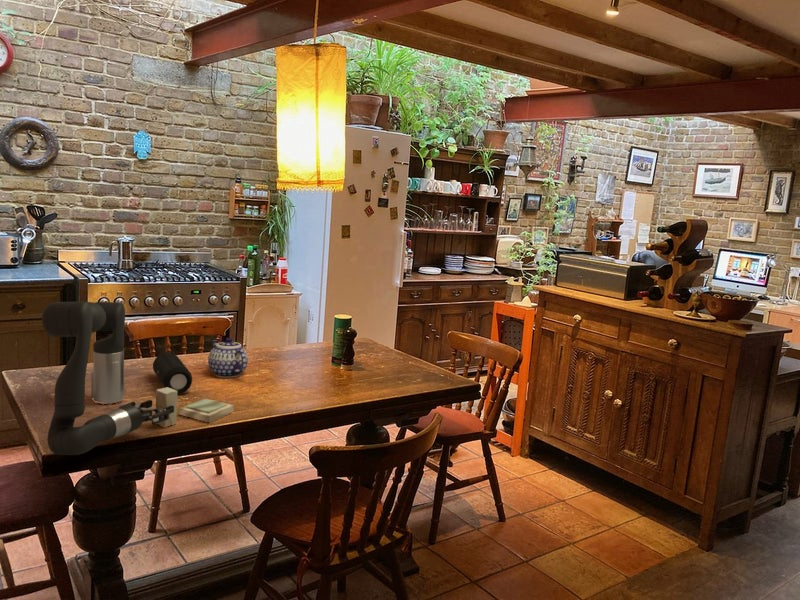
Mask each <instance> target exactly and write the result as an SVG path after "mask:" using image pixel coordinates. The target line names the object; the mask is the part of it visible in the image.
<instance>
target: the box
mask: <svg viewBox="0 0 800 600" xmlns="http://www.w3.org/2000/svg"><path fill="white" fill-rule="evenodd" d="M177 392H178V391H176V390H174V389H171V388H168V387H166V388H164V387H162V388H157V389H156V391H155V393H156V394H155V408H157V409H163V408H166V407H168V406H171V405H173V406H174V412H173V413H171V414H169V419H168V420H165V421H162V422H160V423H157V424H159V425H162V426H164V427H166V426H170V425H173V424H176V425H177V419H178V418H177V416H178V415H177V414H178V413H177V412H178V394H177ZM158 413H160V412H158ZM157 424H156V425H157ZM159 425H158V426H159ZM173 426H174V425H173ZM164 427H163V428H164ZM170 427H171V426H170Z"/></svg>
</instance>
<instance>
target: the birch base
mask: <svg viewBox="0 0 800 600" xmlns="http://www.w3.org/2000/svg"><path fill="white" fill-rule="evenodd" d="M234 406H235V405H234V404H230V403H226V402H221V401H217V400H213V399H208V398H205V397H204V398H202V399H199V400H197V401H193V402H192V403H189V404H187V405H185V406H182V407H180V408H179V410H178V412H179V413H178V415H179V414H181V415H184V416H188V417H191V418H195V419H198V420H197V421H199V420H203V421H205V422H204V423H207V422H209V423H208V424H211V423H213V422H215V421H218V420H219V418H220V419H222V418H224V417H226V416H229V415H231V414H233V413H234ZM232 412H233V413H232ZM230 413H231V414H230ZM228 414H229V415H228ZM225 415H226V416H225ZM223 416H224V417H223ZM221 417H222V418H221ZM191 418H190V419H191ZM195 419H194V420H195ZM217 419H218V420H217ZM203 421H202V422H203ZM212 421H213V422H212ZM210 422H211V423H210Z"/></svg>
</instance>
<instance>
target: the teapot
mask: <svg viewBox="0 0 800 600" xmlns="http://www.w3.org/2000/svg"><path fill="white" fill-rule="evenodd" d="M212 345H213V348H212V349H211V350H210V351H209V354H208V358H207V361H208V362H207V364H208V368H209V370H210V372H211V373H213V374H214V376H215V375H216V376H215V377H217V376H218V377H217V378H221V377H223V378H222V379H231V378H237V377H240V376H241V375H242V373H244V372H245V370H246V368H247V367H248V361H249V356H248V352H247V349H245V348H244V347H243V346H242V344H241V343H240V342H235V341H233V338H232V337H226V338H225V341H221V342H220V341H219V340H217V339H216V340H215V339H214V340H212Z"/></svg>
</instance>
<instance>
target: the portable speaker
mask: <svg viewBox="0 0 800 600" xmlns="http://www.w3.org/2000/svg"><path fill="white" fill-rule="evenodd" d="M152 363H153V364H152V370H153V372H154V373H155V374H156V376H157V378H158V379H159V381H160V383H161V385H162V386H163V388H166V387H168V388H171V389H174V390H176V391H178V392H177V395H181V394H184V393H186V392H187V391H189V389H190V388H191V385H192V383H193V376H192V373H191V372H190V370H189V369H188V368H187V367H186V365H185V364H184V363H183V361H182V360H181V359H180V358H179V356H178V355H176V354H175V353H173V352H170V351H169V352H166V351H165V352H162V353H160V354H158V356H156V357H155V359H154V360H153V362H152Z"/></svg>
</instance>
